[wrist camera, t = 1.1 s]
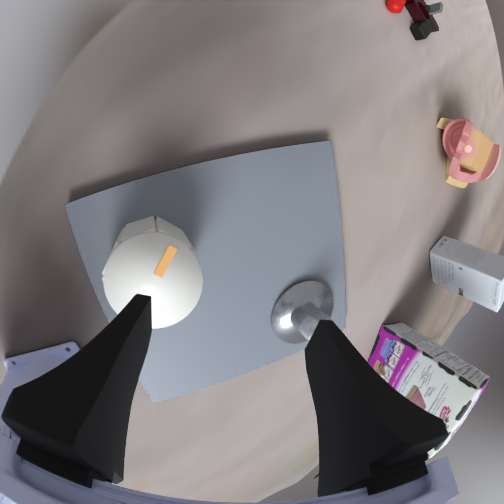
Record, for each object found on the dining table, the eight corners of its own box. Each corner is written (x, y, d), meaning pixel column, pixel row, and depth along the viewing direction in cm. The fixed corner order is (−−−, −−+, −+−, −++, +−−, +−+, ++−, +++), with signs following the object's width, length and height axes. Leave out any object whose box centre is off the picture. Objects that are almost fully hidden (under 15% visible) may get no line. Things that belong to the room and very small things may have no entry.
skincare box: (427, 251, 32) (501, 281, 21) (443, 233, 33) (513, 257, 22) (432, 283, 35) (496, 315, 24) (447, 265, 35) (509, 292, 24)
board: (152, 395, 23) (153, 402, 22) (68, 202, 17) (64, 204, 16) (340, 324, 29) (345, 328, 28) (324, 141, 22) (330, 140, 21)
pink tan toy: (440, 100, 27) (495, 130, 24) (421, 158, 34) (473, 185, 31) (447, 111, 22) (513, 149, 19) (422, 183, 29) (482, 215, 26)
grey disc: (276, 350, 25) (295, 375, 22) (265, 293, 23) (287, 316, 20) (331, 325, 27) (355, 345, 24) (328, 269, 25) (356, 285, 21)
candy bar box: (377, 382, 37) (447, 443, 22) (354, 390, 35) (427, 461, 20) (403, 319, 34) (493, 376, 19) (381, 323, 32) (479, 391, 17)
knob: (167, 305, 20) (175, 342, 16) (101, 273, 18) (89, 305, 13) (203, 241, 20) (221, 263, 15) (135, 203, 18) (130, 214, 13)
